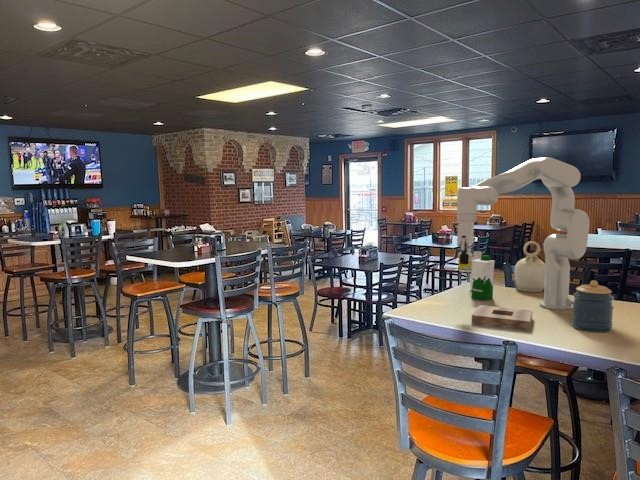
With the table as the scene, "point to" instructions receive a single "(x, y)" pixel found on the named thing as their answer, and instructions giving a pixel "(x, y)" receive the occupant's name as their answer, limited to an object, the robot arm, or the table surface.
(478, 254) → the plastic bottle
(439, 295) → the table surface
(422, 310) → the table surface
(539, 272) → the jug
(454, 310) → the table surface
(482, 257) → the milk carton
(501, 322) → the socket block
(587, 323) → the canister
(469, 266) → the supplement bottle
